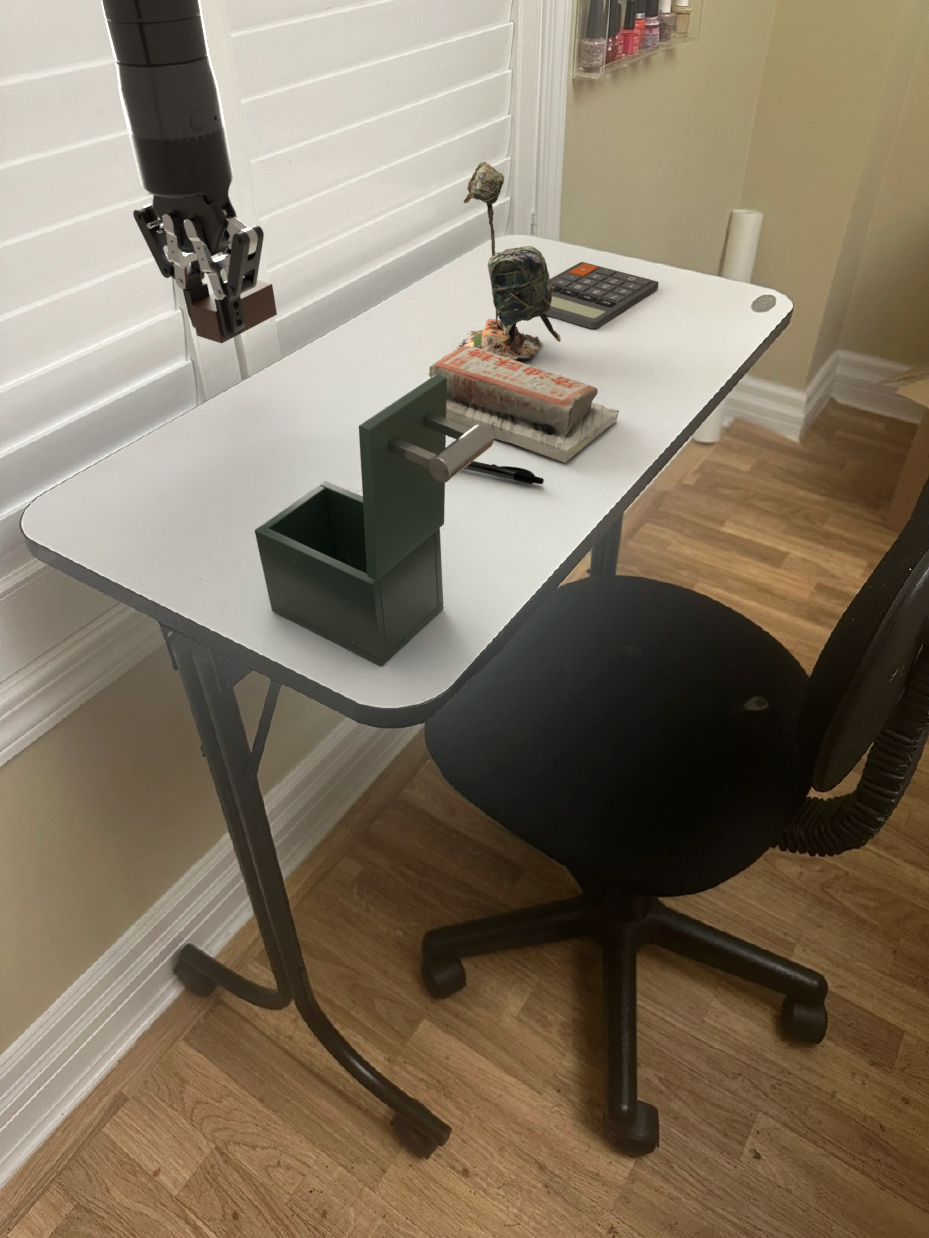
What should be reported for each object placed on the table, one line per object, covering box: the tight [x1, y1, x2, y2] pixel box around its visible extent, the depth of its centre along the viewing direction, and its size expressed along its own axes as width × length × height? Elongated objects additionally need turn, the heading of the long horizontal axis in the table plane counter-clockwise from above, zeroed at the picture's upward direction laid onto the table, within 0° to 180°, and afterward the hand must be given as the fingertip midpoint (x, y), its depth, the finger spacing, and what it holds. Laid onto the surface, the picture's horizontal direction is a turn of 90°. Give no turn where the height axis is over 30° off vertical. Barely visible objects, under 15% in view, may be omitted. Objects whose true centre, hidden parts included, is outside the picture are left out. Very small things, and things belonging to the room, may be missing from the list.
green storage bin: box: [254, 480, 444, 667], centre depth 67 cm, size 11×8×8 cm
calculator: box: [545, 261, 660, 330], centre depth 112 cm, size 12×1×15 cm
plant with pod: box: [456, 161, 562, 360], centre depth 95 cm, size 8×11×20 cm
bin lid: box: [358, 374, 494, 581], centre depth 57 cm, size 12×8×5 cm
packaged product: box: [428, 346, 620, 464], centre depth 89 cm, size 18×5×10 cm
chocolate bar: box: [190, 279, 278, 344], centre depth 84 cm, size 3×8×3 cm, turn 147°
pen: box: [463, 460, 545, 485], centre depth 83 cm, size 14×2×1 cm, turn 66°
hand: (218, 329), depth 83 cm, fingers closed on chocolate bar, 3 cm apart
